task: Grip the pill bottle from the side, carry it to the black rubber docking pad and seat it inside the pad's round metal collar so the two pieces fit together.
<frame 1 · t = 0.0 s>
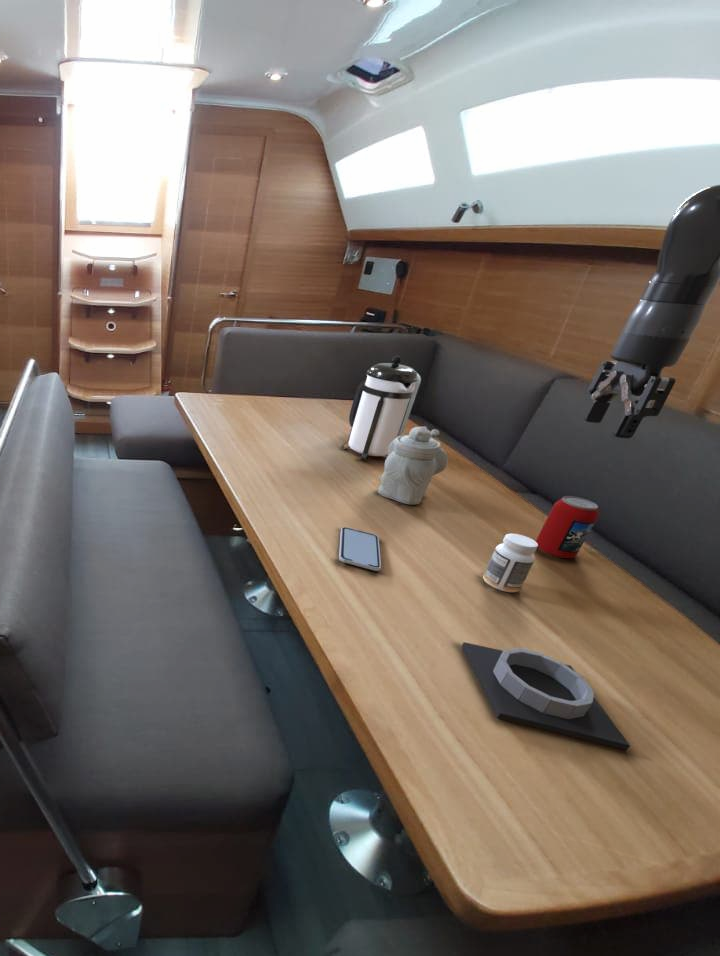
hand: (605, 429, 85), 30 cm above the table, tool pointing down, fingers open, 8 cm apart
pill bottle: (499, 585, 94), on the table
dock: (534, 692, 71), on the table
smartphone: (358, 550, 103), on the table
vase: (381, 435, 169), on the table
grey sculpted cookie jar: (403, 493, 129), on the table
coffee press: (363, 453, 154), on the table
beverage can: (553, 552, 105), on the table
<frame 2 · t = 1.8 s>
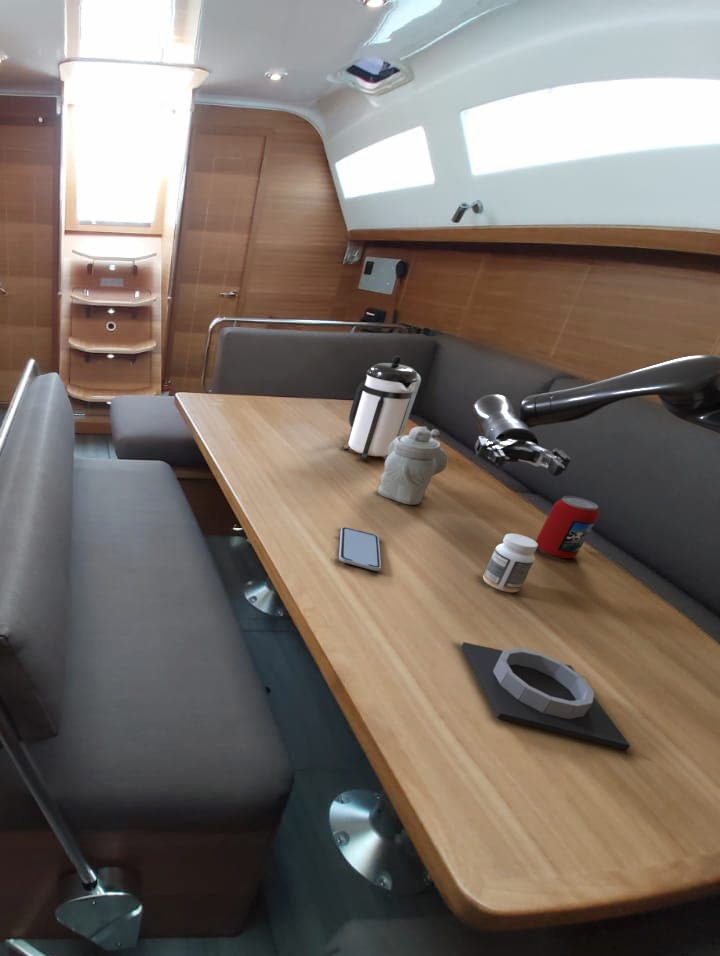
hand: (529, 466, 94), 20 cm above the table, tool horizontal, fingers open, 8 cm apart
nothing on the table moved.
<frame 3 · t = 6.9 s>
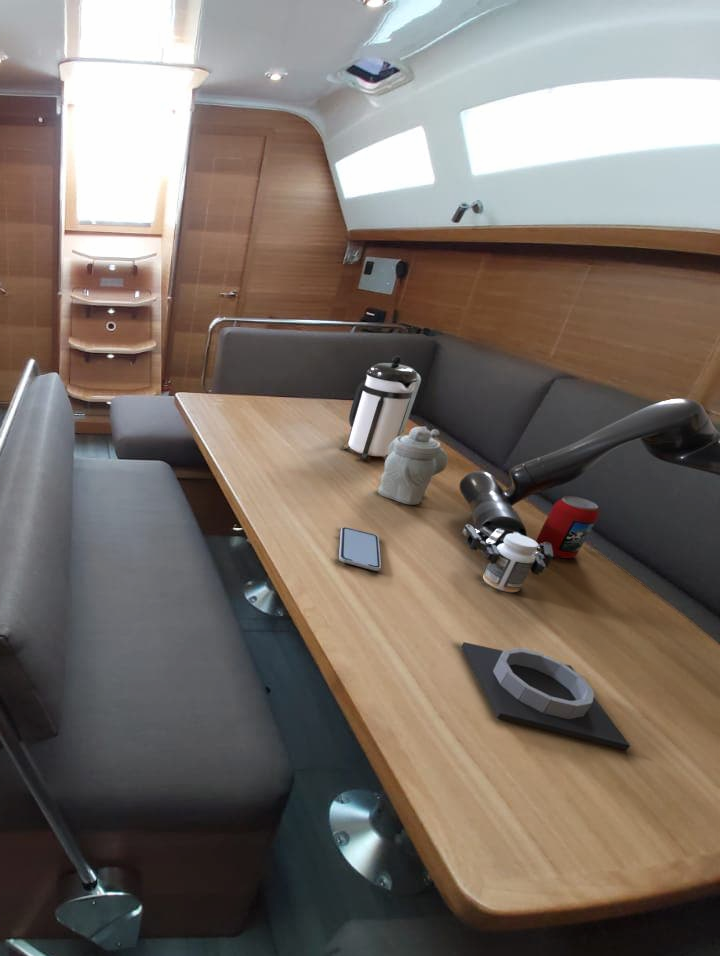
hand: (516, 564, 90), 6 cm above the table, tool horizontal, fingers closed on pill bottle, 5 cm apart
pill bottle: (499, 585, 94), on the table, touching gripper
everything else where it was.
when the fingers open (7 cm above the table, at t = 16.6 s): pill bottle stays where it is, resting on dock.
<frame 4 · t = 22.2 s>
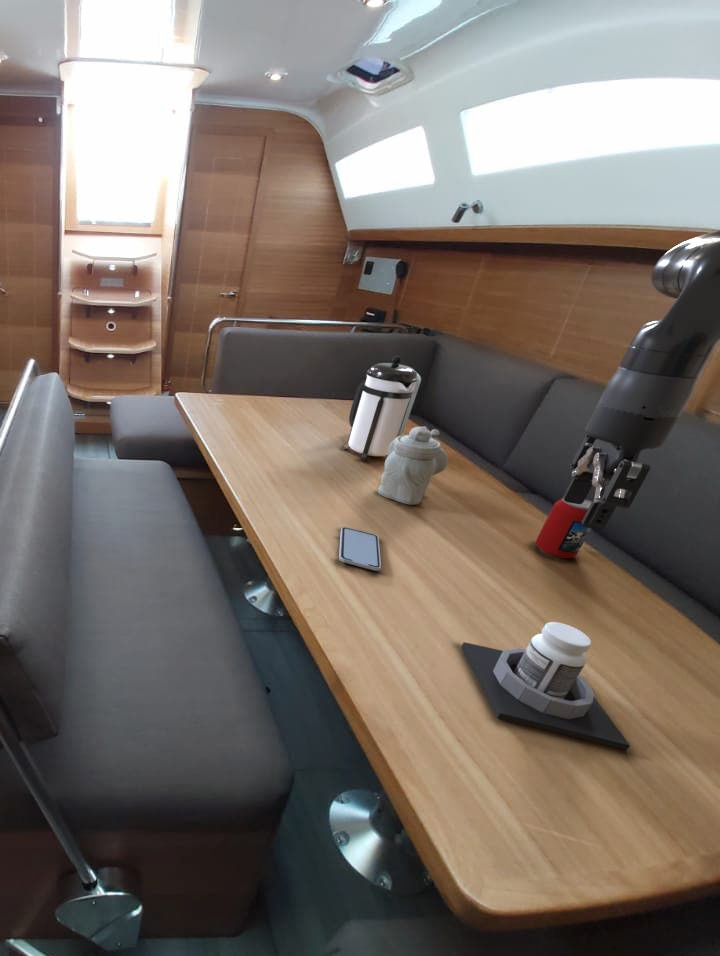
hand: (581, 514, 72), 23 cm above the table, tool pointing down, fingers open, 8 cm apart
pill bottle: (535, 687, 71), point 1 cm above the table, touching dock
everything else where it was.
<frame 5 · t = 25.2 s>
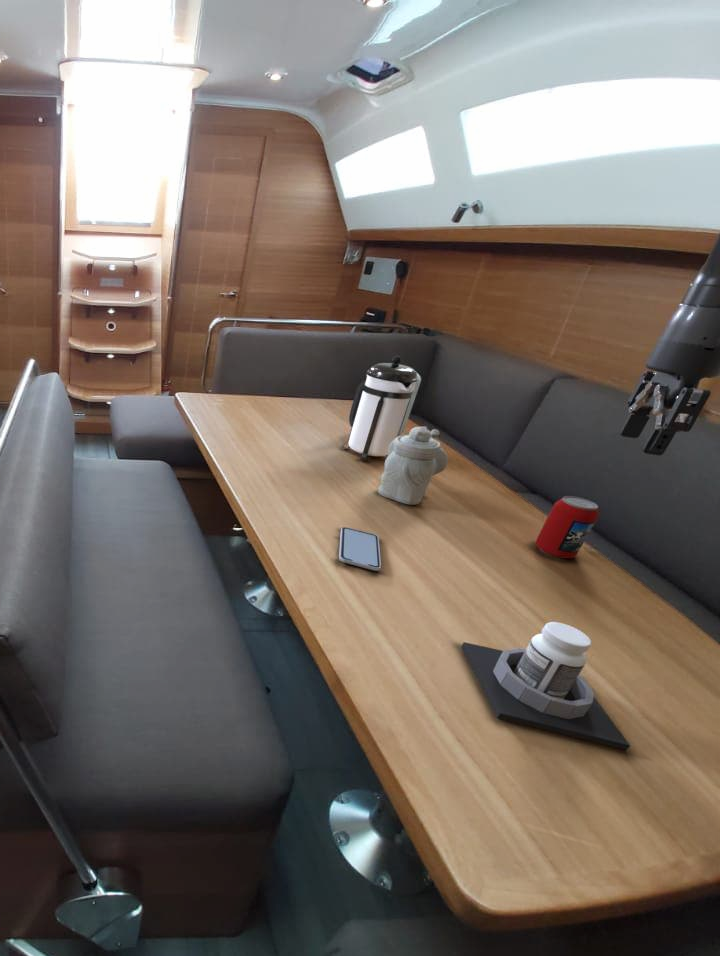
hand: (639, 444, 78), 30 cm above the table, tool pointing down, fingers open, 8 cm apart
nothing on the table moved.
at the end: pill bottle 0.1 cm off-centre on the dock, point 0.8 cm above the dock's base; pill bottle tilted 0°; the gripper is holding nothing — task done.
